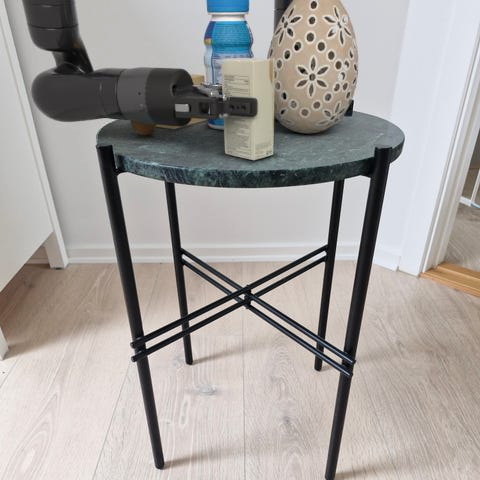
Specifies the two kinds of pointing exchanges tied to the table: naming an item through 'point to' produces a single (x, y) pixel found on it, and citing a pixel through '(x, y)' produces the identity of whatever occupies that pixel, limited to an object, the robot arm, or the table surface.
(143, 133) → the egg
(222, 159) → the table surface
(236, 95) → the cosmetic box
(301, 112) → the ornament
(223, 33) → the beverage bottle
